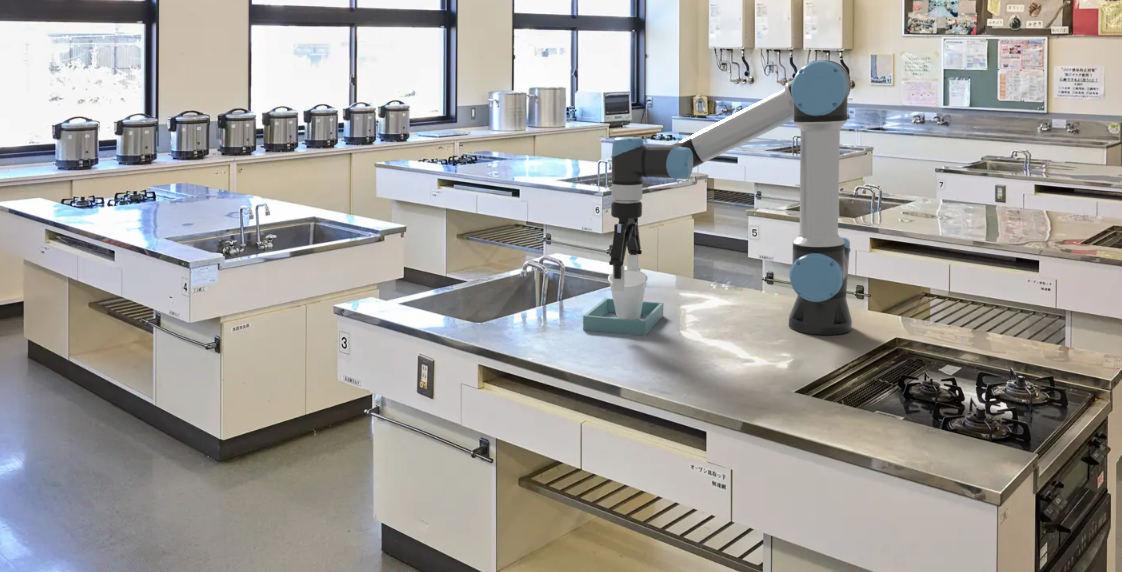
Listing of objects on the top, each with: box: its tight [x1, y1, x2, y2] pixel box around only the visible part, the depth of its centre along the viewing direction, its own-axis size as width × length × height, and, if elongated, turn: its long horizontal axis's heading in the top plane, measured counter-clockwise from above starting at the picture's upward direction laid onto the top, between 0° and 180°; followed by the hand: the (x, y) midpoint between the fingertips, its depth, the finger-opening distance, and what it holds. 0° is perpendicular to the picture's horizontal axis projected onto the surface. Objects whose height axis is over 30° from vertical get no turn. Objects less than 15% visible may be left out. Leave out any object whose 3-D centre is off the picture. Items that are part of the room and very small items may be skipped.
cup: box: [607, 269, 649, 320], centre depth 251 cm, size 10×10×11 cm
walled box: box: [582, 297, 665, 336], centre depth 250 cm, size 16×20×4 cm
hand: (625, 285), depth 248 cm, fingers open, 13 cm apart
